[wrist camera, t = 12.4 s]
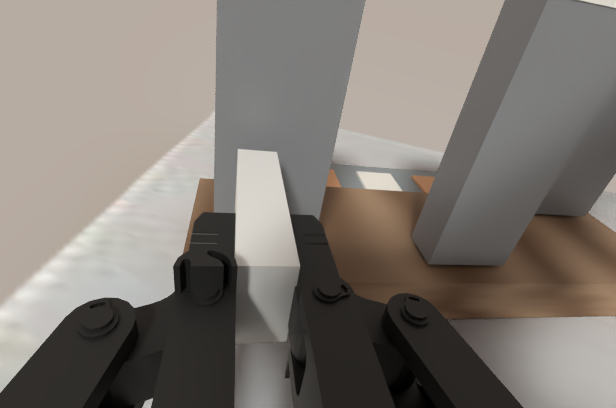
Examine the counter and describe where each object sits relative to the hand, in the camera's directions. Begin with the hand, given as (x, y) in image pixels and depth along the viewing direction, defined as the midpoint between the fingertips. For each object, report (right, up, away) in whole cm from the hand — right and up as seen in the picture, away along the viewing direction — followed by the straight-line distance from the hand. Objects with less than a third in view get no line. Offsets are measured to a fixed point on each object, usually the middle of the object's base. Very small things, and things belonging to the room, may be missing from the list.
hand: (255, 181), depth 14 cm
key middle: (+11, -4, +8) cm, 14 cm away
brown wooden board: (+10, -5, +11) cm, 16 cm away
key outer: (0, -3, +5) cm, 6 cm away
